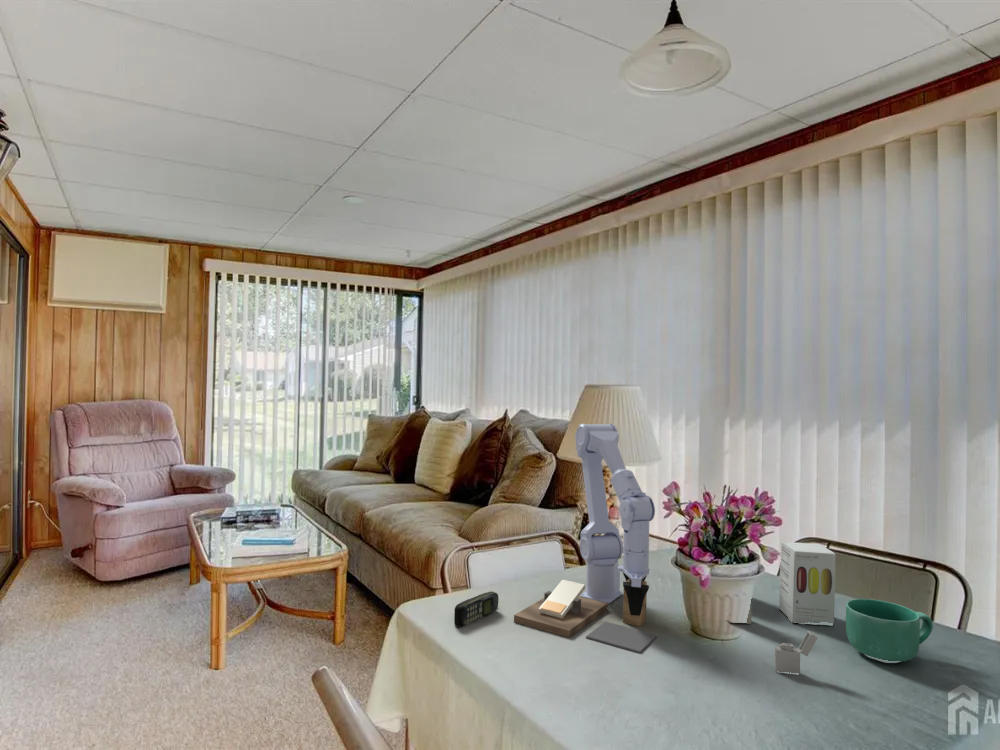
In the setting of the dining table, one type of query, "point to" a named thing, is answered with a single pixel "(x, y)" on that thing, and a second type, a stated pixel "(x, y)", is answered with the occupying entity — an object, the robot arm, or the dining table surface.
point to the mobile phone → (475, 608)
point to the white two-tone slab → (561, 598)
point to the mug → (885, 629)
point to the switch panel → (571, 622)
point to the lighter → (793, 654)
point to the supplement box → (807, 582)
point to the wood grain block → (626, 612)
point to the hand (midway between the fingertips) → (634, 608)
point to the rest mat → (622, 636)
